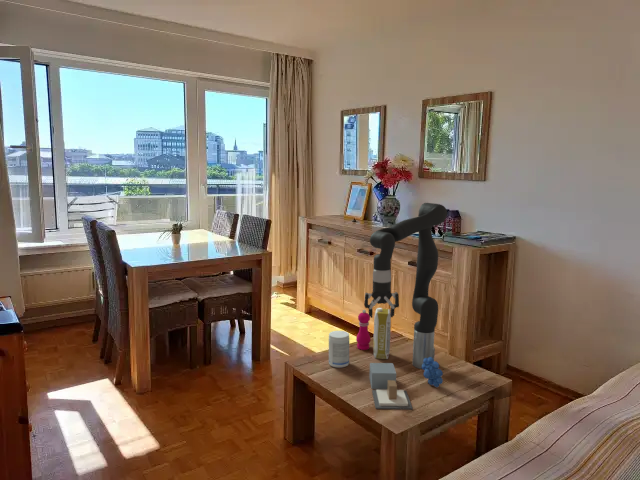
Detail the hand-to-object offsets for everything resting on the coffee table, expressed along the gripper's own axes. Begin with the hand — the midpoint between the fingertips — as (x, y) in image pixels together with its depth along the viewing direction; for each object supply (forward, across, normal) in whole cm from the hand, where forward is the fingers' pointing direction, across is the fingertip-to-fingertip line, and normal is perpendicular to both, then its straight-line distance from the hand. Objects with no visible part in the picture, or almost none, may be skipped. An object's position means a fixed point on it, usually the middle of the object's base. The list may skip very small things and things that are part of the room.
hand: (381, 316), depth 197 cm
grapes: (+29, -20, +4) cm, 36 cm away
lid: (+28, -2, +16) cm, 33 cm away
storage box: (+29, 0, +2) cm, 29 cm away
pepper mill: (+29, +4, -37) cm, 47 cm away
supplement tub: (+29, +17, -17) cm, 38 cm away
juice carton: (+29, -4, -26) cm, 40 cm away
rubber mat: (+29, -2, +16) cm, 33 cm away
